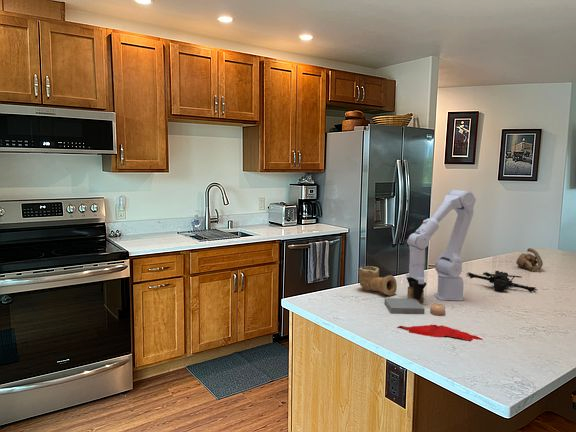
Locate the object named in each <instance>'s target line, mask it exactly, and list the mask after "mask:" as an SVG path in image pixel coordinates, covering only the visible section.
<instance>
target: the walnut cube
mask: <svg viewBox="0 0 576 432" xmlns="http://www.w3.org/2000/svg"><path fill="white" fill-rule="evenodd" d="M424 292H425V291H424V289H423V292H422V295H421V299H420V300H417V301H418V302H419V303H420V304H423V303H424V297H425V296H424V294H425V293H424ZM406 294H407V297H406V298H407V299H414V291H413V287H409V286H407V293H406Z"/></svg>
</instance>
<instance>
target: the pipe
mask: <svg viewBox="0 0 576 432" xmlns="http://www.w3.org/2000/svg"><path fill="white" fill-rule="evenodd" d="M357 274H358V281H359V285H360V287H361V288H363V289H364V290H365V291H368V292H375V291H376V292H381V293H383V294H384V295H386V296H388V297H389V296H393V295H395V294H396V293H397V288H398V287H397V286H398V284H397V280H396V278H395V276H393V275H391V274H390V275H385V276H384V277H380V268H379V267H377V266H372V265H370V266H369V265H367V266H363V267H359V271H358V273H357Z"/></svg>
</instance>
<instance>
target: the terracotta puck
mask: <svg viewBox="0 0 576 432" xmlns="http://www.w3.org/2000/svg"><path fill="white" fill-rule="evenodd" d="M429 309H430V310H429V311H430V312H429V314H431V315H433V316H437V317H438V316H439V317H442V316H445V315H446V305H444V304H441V303H430V307H429Z"/></svg>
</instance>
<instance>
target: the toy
mask: <svg viewBox="0 0 576 432" xmlns="http://www.w3.org/2000/svg"><path fill="white" fill-rule="evenodd" d="M466 276H467V277H468V278H469V279H473V278H475V279H480V280H484V281H488V282H489V283H490V284H493V289H494V291H495V292H499V293H503V292H504V291H506V290H507V287H508V288H512V287H513V288H519V289H524V290H527V291H528V292H529V293H536V292H537V291H538V288H537V287H534V286H528V285H523V284H520V283H514V282H513V280H514V278H523V276H520V275H512V274H511V275H510V274H508V273H507V272H503V271H499V270H495V271H494V273H489V272H487V271H485V272H483V273H482V275H479V274H475V273H472V272H469V271H468V272H466ZM510 278H511V279H510Z"/></svg>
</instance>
